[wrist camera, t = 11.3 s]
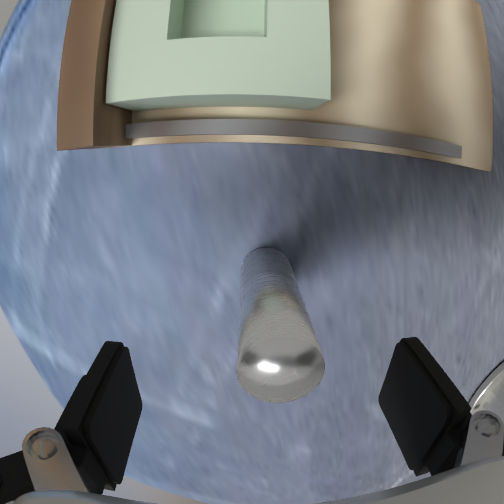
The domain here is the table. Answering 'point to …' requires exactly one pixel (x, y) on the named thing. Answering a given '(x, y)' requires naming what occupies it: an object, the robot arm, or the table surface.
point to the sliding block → (219, 54)
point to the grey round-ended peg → (275, 331)
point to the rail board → (342, 88)
